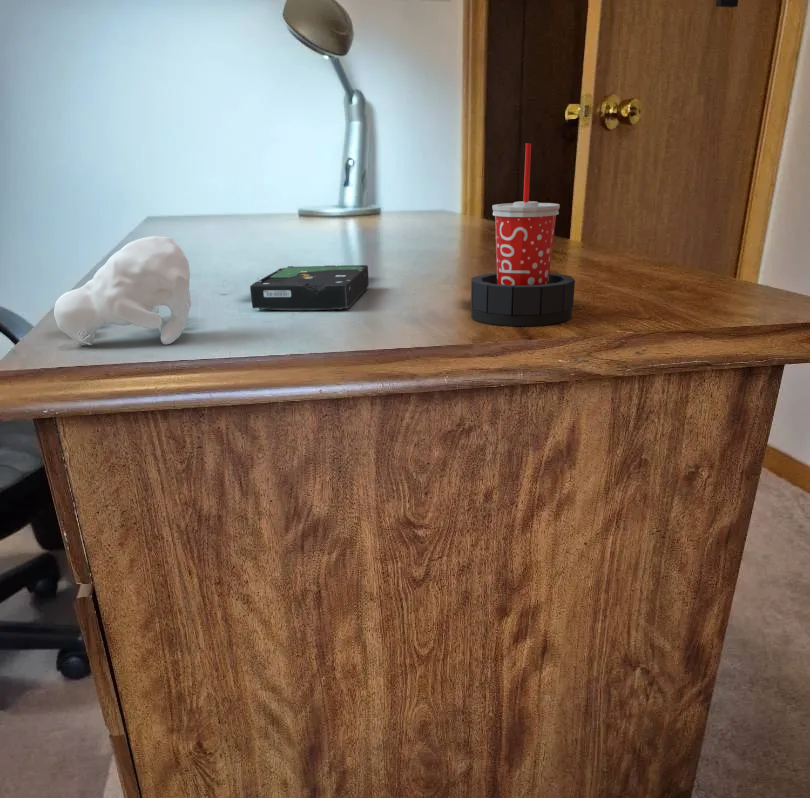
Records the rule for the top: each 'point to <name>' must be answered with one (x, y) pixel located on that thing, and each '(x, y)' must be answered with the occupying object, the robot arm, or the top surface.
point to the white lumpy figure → (131, 292)
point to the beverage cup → (524, 237)
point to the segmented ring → (522, 301)
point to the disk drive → (310, 287)
